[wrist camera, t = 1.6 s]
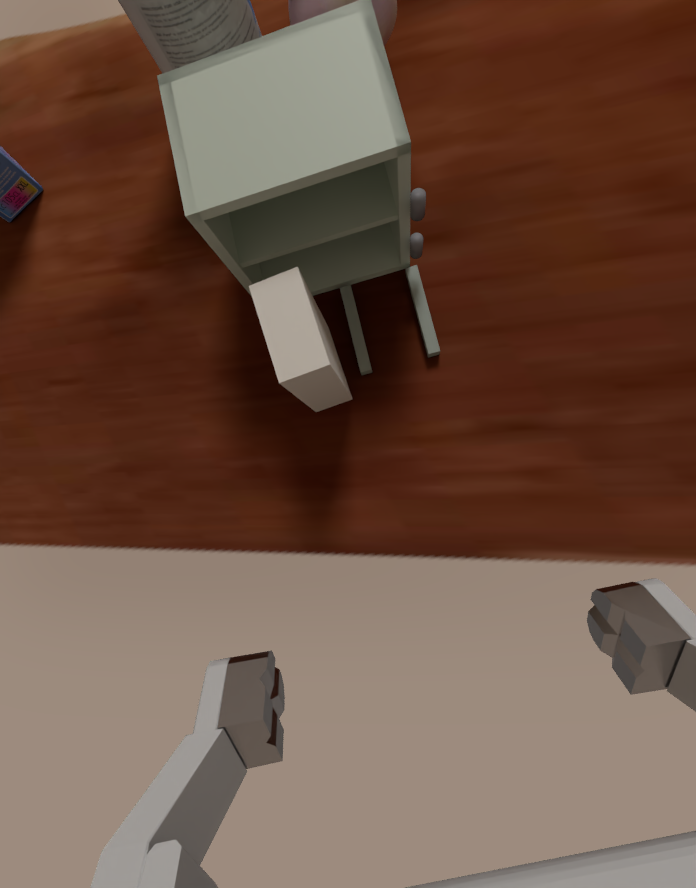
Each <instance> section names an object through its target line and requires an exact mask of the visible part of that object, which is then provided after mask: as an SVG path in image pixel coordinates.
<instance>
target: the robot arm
mask: <svg viewBox="0 0 696 888" xmlns="http://www.w3.org/2000/svg"><path fill="white" fill-rule="evenodd" d="M591 600H592V602H593V603H594V606H593V608H591V609H590V610H589V611H588V618H587V623H588V627H589V631H590V633H591V636H592V638H593V640H594V641H595V643H596V645H597V646H598V647H599V649H600V650H601V651H602V652H604V653H606V654H607V655H609V656H610V657H612V668H613V669H614V671H615V672H616V674H617V675H618V677H619V678H620V680H621V681H622V682H623V684H624V685H625V687H626V688H627V689H628V691H629V693H630V694H638V693H643V692H649V691H656V690H662V689H667V691H668V692H669V693H670V694H672V695H673V696H675V697H676V698H677V699H679V700H680V701H682V702H683V703H684V704H686V705H687V706H689V707H690V708H691V709H693V710H695V711H696V615H695V614H694V613H693V612H692V611H691V610H690V609H689V608H688V607H687V606H686V605H685V604H684V603H683V602H682V601H681V600H680V599H679V598H678V597H677V596H676V595H675V594H674V593H673V592H672V591H671V590H670V589H669V588H668V587H667V586H666V585H665V584H664V583H663V582H662V581H660V580H659V579H656V578H655V579H648V580H643V581H638V582H630V583H625V584H620V585H615V586H610V587H605V588H601V589H596V590H595V591H594V592H592V596H591ZM284 699H285V698H284V684H283V680H282V675H281V672H280V670H279V669H277V668H276V667H275V657H274V655H273V652H272V651H267V652H261V653H255V654H249V655H243V656H237V657H231V658H225V659H220V660H214V661H210V663H209V665H208V667H207V669H206V673H205V678H204V682H203V687H202V692H201V697H200V702H199V707H198V711H197V716H196V721H195V726H194V730H193V734H190V735H186V737H185V738H184V739H183V741H182V742H181V743H180V745H179V746H178V748H177V749H176V750H175V752H174V753H173V754H172V756H171V757H170V759H169V760H168V761H167V763H166V764H165V765H164V767H163V768H162V769H161V771H160V772H159V774H158V775H157V776H156V778H155V779H154V781H153V782H152V783H151V785H150V786H149V787H148V789H147V790H146V791H145V793H144V794H143V796H142V797H141V798H140V800H139V801H138V802H137V804H136V805H135V807H134V808H133V809H132V811H131V812H130V813H129V815H128V816H127V818H126V819H125V820H124V822H123V823H122V825H121V826H120V827H119V829H118V830H117V831H116V833H115V834H114V835H113V837H112V838H111V840H110V841H109V842H108V844H107V845H106V846H105V848H104V849H103V850H102V853H101V856H100V859H99V862H98V865H97V869H96V872H95V875H94V878H93V882H92V885H91V888H218V887H217V885H216V884H215V882H214V881H213V880H212V879H211V878H210V877H209V875H208V874H207V873H206V872H205V871H204V870H203V869H202V868H201V867H200V864H201V862H202V860H203V858H204V856H205V854H206V852H207V850H208V848H209V846H210V844H211V842H212V840H213V838H214V836H215V834H216V832H217V830H218V828H219V826H220V824H221V822H222V820H223V818H224V816H225V814H226V812H227V810H228V808H229V806H230V805H231V803H232V801H233V799H234V797H235V794H236V792H237V790H238V789H239V787H240V785H241V783H242V781H243V779H244V776H245V775H246V773H247V770H246V769H248V768H252V767H257V766H262V765H266V764H270V763H275V762H280V761H282V758H283V733H284V730H283V727H282V725H281V722H280V720H279V718H280V716H281V715H282V713H283V711H284ZM406 888H696V831H692V832H687V833H682V834H677V835H672V836H667V837H662V838H657V839H652V840H646V841H642V842H636V843H631V844H626V845H621V846H616V847H611V848H605V849H601V850H595V851H590V852H586V853H580V854H575V855H570V856H565V857H559V858H555V859H549V860H544V861H539V862H534V863H529V864H524V865H518V866H513V867H508V868H504V869H498V870H493V871H488V872H483V873H478V874H472V875H467V876H462V877H458V878H452V879H447V880H442V881H437V882H432V883H426V884H422V885H416V886H411V887H406Z"/></svg>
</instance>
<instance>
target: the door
mask: <svg viewBox="0 0 696 888" xmlns="http://www.w3.org/2000/svg"><path fill="white" fill-rule="evenodd" d="M249 289H250V292H251V295H252V298H253V302H254V305H255V308H256V311H257V314H258V318H259V321H260V324H261V327H262V330H263V334H264V337H265V340H266V343H267V346H268V350H269V353H270V356H271V359H272V362H273V366H274V369H275V372H276V375H277V378H278V382H279V384H281V385H282V386H283V387H284V388H286V389H287V390H288V391H290V392H291V393H292V394H293V395H295V396H296V397H297V398H298V399H300V400H301V401H302V402H304V403H305V404H306V405H307V406H309V407H310V408H311V409H313V410H314V411H315V412H318V411H321V410H324V409H327V408H330V407H332V406H335V405H338V404H341V403H344V402H346V401H349V400H352V399H353V398H352V396H351V393H350V390H349V387H348V384H347V381H346V378H345V375H344V372H343V369H342V366H341V363H340V360H339V357H338V354H337V351H336V348H335V345H334V342H333V339H332V336H331V333H330V330H329V327H328V326H327V324H326V322H325V320H324V318H323V316H322V314H321V312H320V310H319V308H318V306H317V304H316V302H315V300H314V298H313V296H312V294H311V292H310V290H309V288H308V286H307V284H306V282H305V280H304V278H303V276H302V274H301V272H300V270H299V268H298V267H295V268H293V269H290V270H287V271H285V272H282V273H280V274H277V275H275V276H272V277H270V278H267V279H265V280H262V281H260V282H257V283H255V284H252V285H250V286H249Z"/></svg>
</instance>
